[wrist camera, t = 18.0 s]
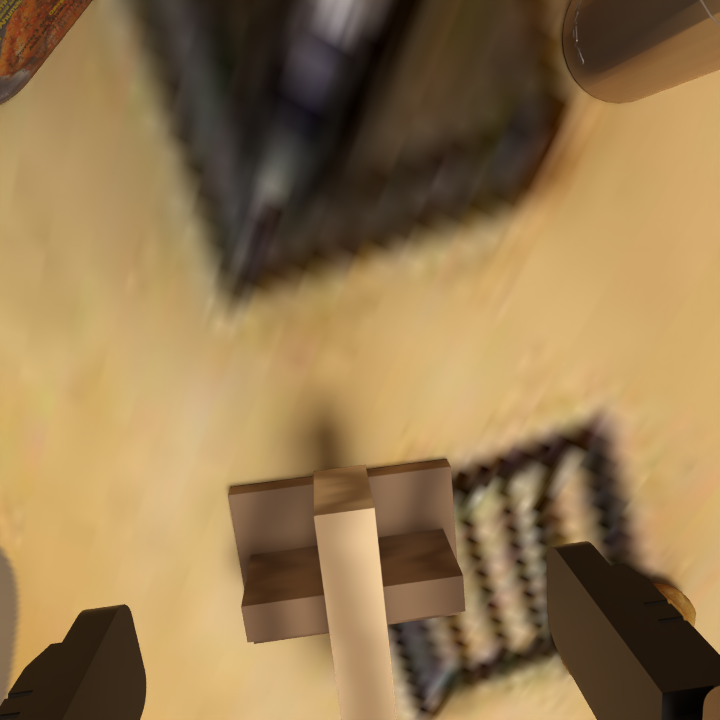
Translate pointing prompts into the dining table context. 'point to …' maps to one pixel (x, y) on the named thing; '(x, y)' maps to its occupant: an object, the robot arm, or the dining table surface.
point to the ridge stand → (301, 556)
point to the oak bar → (354, 593)
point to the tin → (31, 37)
